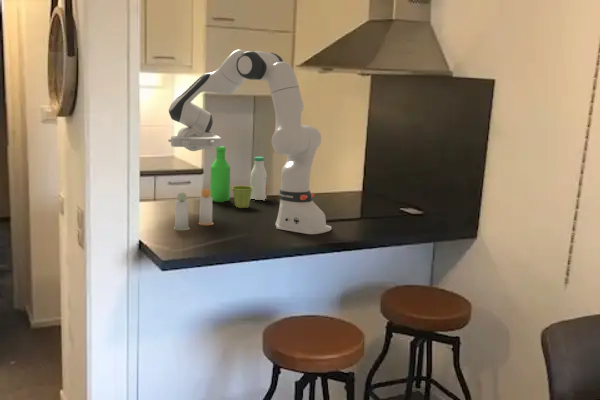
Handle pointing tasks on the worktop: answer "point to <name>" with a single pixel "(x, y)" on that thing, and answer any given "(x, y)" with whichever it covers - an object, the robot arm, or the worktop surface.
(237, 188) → the plant pot
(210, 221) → the orange ball tube
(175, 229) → the card
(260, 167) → the milk bottle
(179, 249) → the worktop surface
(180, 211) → the green ball tube
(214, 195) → the bottle
